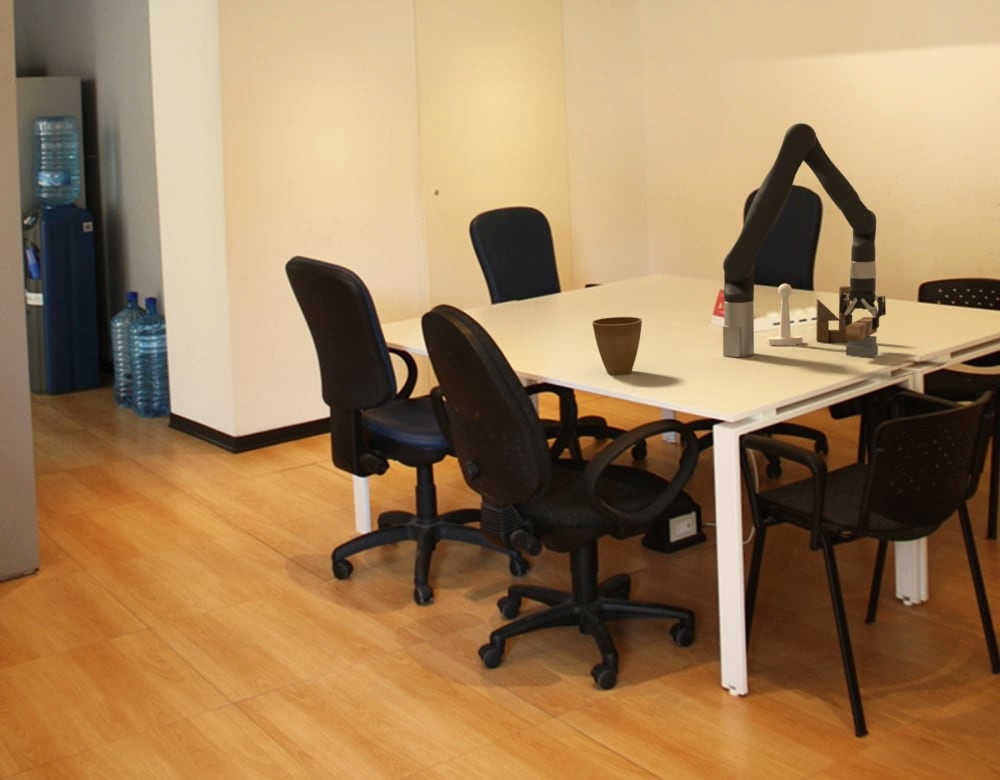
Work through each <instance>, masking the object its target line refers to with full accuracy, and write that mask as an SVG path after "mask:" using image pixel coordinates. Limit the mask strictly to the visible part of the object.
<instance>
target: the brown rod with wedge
mask: <svg viewBox="0 0 1000 780" xmlns="http://www.w3.org/2000/svg"><path fill="white" fill-rule="evenodd" d="M838 290H839V291H838V310H839V309H840V295H841V294H843V293H847V294H850V285H843V286H842V285H841V286H839V287H838ZM850 304H851V301H850V299H849V300H847V309H848V307H849V305H850ZM835 321H838V329H830V327H829V326H830V324H829V323H830V322H835ZM846 326H847V325H846V324H845V314H843V313H840V312H839V311H838V317H837V316H836V314H834V313H833V312H832V311H831V310H830V309H829V308H828V307H827V306H826V305H825V304H824V303H822V301H820V300H819V299H818V298H816V327H815V328H816V329H815V332H816V336H815V338H816V339H815V340H816V342H817V343H818V342H825V343H829V342H830V341H834V342H833V343H836V342H835V341H846Z"/></svg>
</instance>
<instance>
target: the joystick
mask: <svg viewBox="0 0 1000 780" xmlns="http://www.w3.org/2000/svg"><path fill="white" fill-rule="evenodd" d="M777 293H778V295H779V296H780V298H781V299H780V302H781V303H780V319H779V334H777V335H775V337H774V336H773V337H770V336H769V337H766V344H767V346H768V345H789V346H797V345H796V344H800V345H803V336H801V335H793V336H792V333H791V316H790V315H791V314H790V296H791V294H792V293H793V288H792V286H791V285H790V284H788V283H782V284H780V285H779V287H778V289H777Z"/></svg>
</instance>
